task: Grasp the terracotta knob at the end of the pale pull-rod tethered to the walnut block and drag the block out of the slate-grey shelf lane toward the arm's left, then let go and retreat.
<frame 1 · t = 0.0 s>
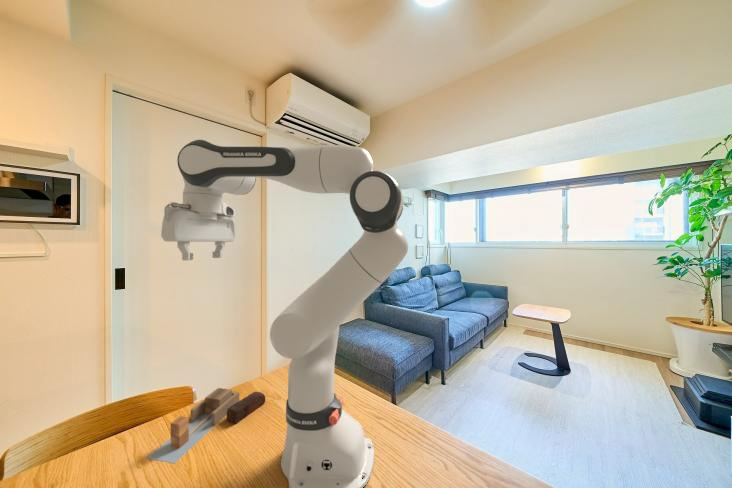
hand: (203, 259, 66), 48 cm above the table, fingers open, 8 cm apart
shelf lane: (199, 430, 69), on the table
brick: (246, 415, 76), on the table
tethered block: (218, 409, 76), point 1 cm above the table, touching shelf lane
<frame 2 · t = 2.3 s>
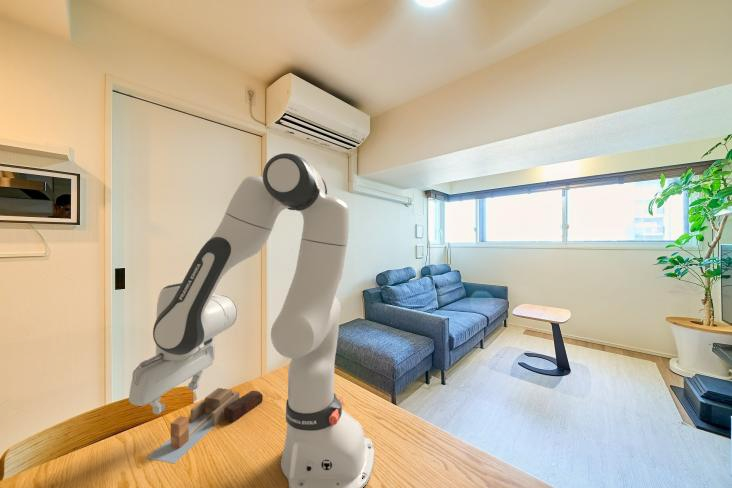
hand: (177, 399, 63), 12 cm above the table, fingers open, 8 cm apart
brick: (244, 414, 76), on the table
everything else where it was.
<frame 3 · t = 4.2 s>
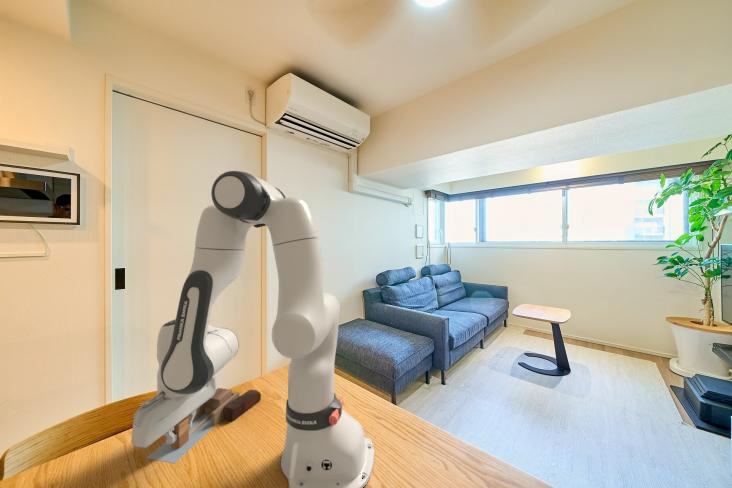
hand: (179, 435, 63), 3 cm above the table, fingers closed on tethered block, 3 cm apart
tethered block: (218, 409, 76), point 1 cm above the table, touching gripper, shelf lane
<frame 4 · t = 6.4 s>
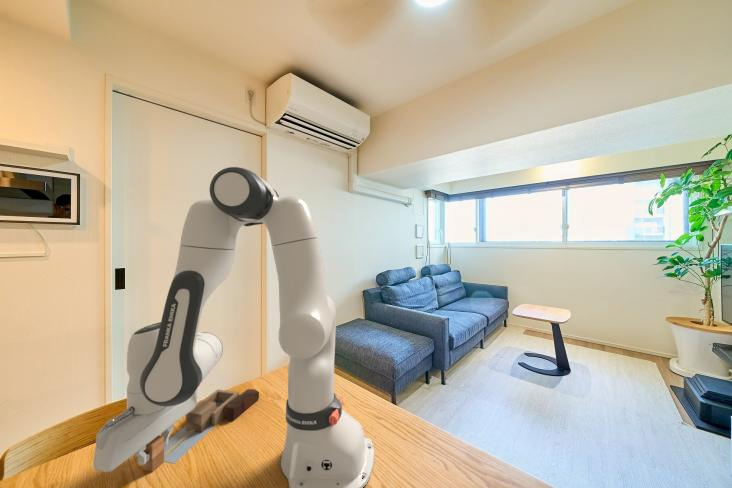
hand: (153, 454, 57), 4 cm above the table, fingers closed on tethered block, 3 cm apart
tethered block: (201, 424, 70), point 1 cm above the table, touching gripper
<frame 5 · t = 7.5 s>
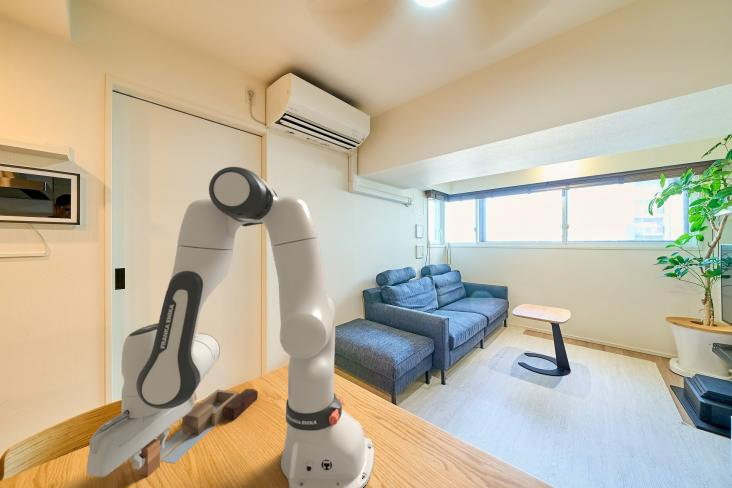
hand: (149, 458, 56), 4 cm above the table, fingers closed on tethered block, 3 cm apart
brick: (241, 412, 77), on the table, touching shelf lane
tethered block: (198, 427, 69), point 1 cm above the table, touching gripper, shelf lane
when the fingers open (4 cm above the table, at t = 7.7 s): tethered block stays where it is, resting on shelf lane.
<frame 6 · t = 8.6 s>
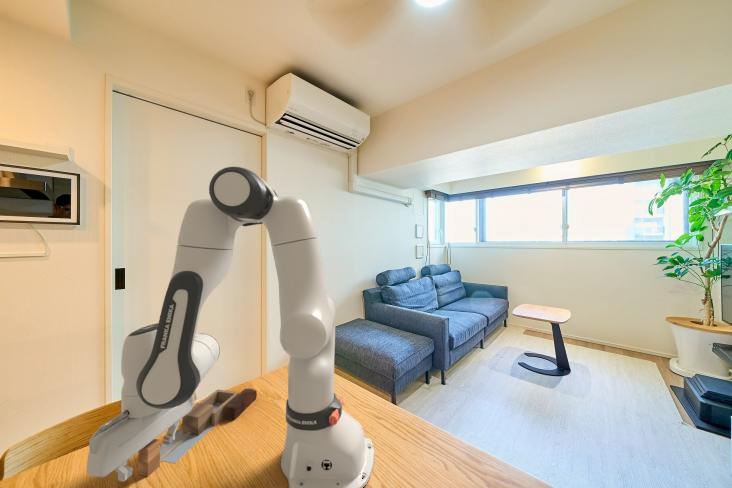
hand: (149, 458, 56), 4 cm above the table, fingers open, 8 cm apart
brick: (240, 412, 77), on the table
tethered block: (198, 427, 69), point 1 cm above the table, touching shelf lane
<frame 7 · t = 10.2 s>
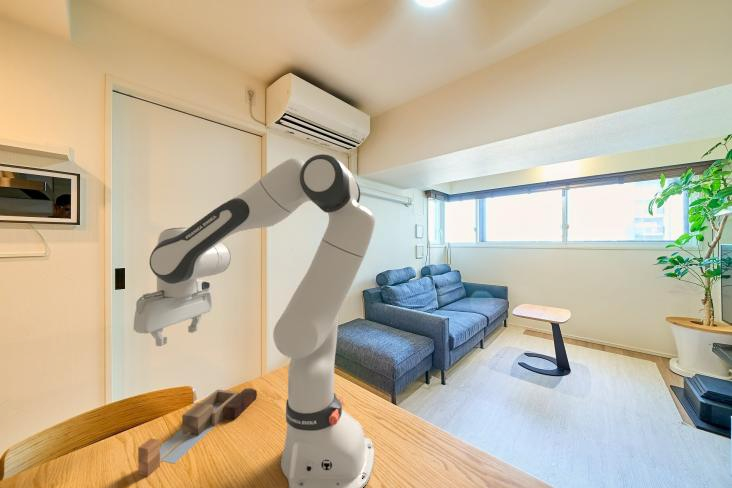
hand: (178, 337, 68), 26 cm above the table, fingers open, 8 cm apart
nothing on the table moved.
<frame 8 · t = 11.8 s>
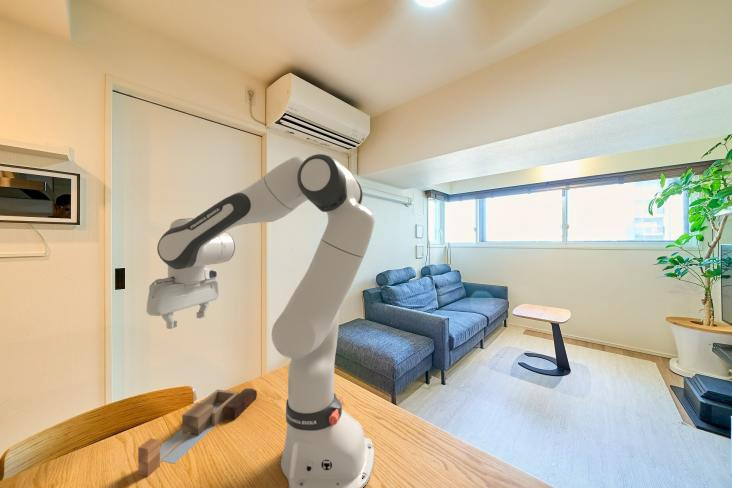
hand: (187, 322, 72), 29 cm above the table, fingers open, 8 cm apart
nothing on the table moved.
at the end: tethered block inside the target area (3.8 cm from its centre), point 1.0 cm above the table; tethered block moved 7.5 cm from its start; the gripper is holding nothing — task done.
